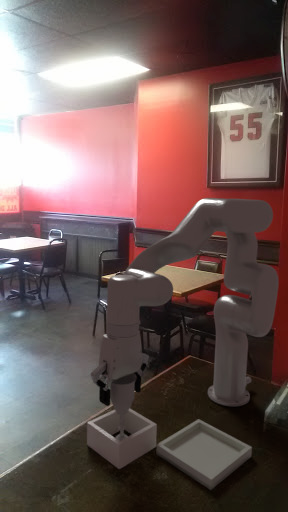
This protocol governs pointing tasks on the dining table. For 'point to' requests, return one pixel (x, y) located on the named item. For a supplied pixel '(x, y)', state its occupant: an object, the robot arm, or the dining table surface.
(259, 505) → the dining table surface
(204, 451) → the tray
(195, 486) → the dining table surface
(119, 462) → the sleeve
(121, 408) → the chalice
